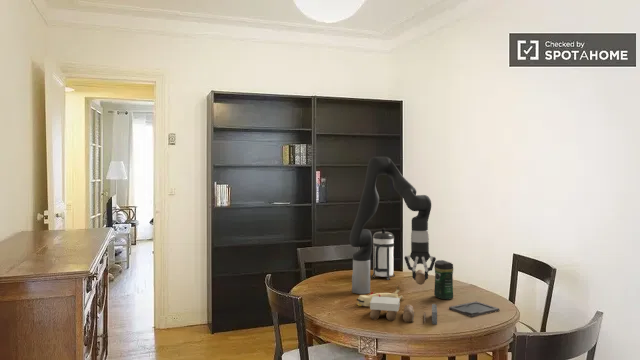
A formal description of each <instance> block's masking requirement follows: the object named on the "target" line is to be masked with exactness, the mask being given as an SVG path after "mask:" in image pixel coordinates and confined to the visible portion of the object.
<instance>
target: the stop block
mask: <svg viewBox="0 0 640 360" xmlns="http://www.w3.org/2000/svg"><path fill="white" fill-rule="evenodd" d="M431 325H438V306H437V303H436V304H435V303H432V304H431Z"/></svg>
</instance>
